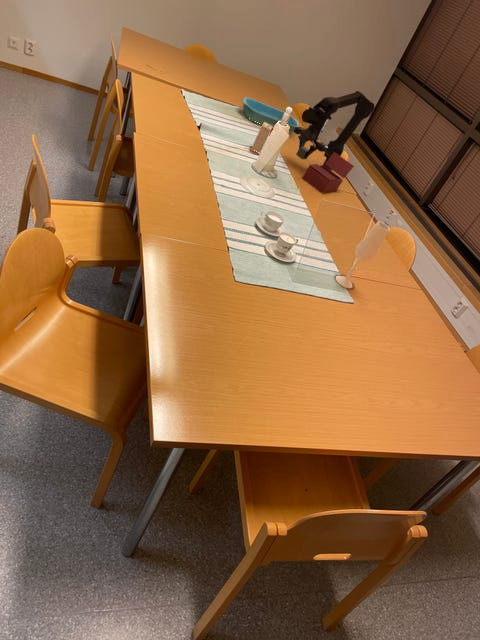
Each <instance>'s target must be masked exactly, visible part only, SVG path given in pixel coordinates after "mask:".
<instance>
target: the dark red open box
mask: <svg viewBox="0 0 480 640" xmlns="http://www.w3.org/2000/svg"><path fill="white" fill-rule="evenodd" d="M302 179H303V180H304V181H305V182H307V183H308V184H310V185H311V186H312V187H314V189H316V190H317V191H319V192H320V193H321V194H326V193H334V192H337V191H338V189H339V188H340V186H341V184H342V183H343V181H344V178H343V177H341V176H340V175H339V174H337V173H336V172H335V171H333V170H332V171H331V170H329V169H328V168H327V167H325V166H324V165H323V164H322V165H321V164H320V165H319V164H317V163H312V164H309V165H308V166H307V168H306V170H305V172H304V174H303V176H302Z"/></svg>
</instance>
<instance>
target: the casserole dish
mask: <svg viewBox="0 0 480 640" xmlns="http://www.w3.org/2000/svg"><path fill="white" fill-rule="evenodd" d="M241 102H242V104H243V105H242V110H243V113H244V114H245V116H246V118H247V119H248V120H249V121H250V122H252V123H254V124H256V125H259V126H262V124H263V123H264V122H266V123H268V124H270V125H272V126H273V127H274V125H275V124H276V123H277V122H278V121H279V120H281V119H282V116H283V114H284V112H285V111H284V110H281V109H279V108H276V107H273V106H271V105H268V104H266V103H263V102H261V101H258V100H256V99H254V98H251V97H244V98H243V99H241ZM249 118H250V119H249ZM273 118H274V119H273ZM276 119H277V120H276ZM255 121H256V122H255ZM257 122H258V123H257ZM259 123H260V124H259ZM288 125H289V126H290V129H289V134H288V135H291V134H292V133H294V132H293V131H294V129H295V128H296V127H299V126H300V122H299V121H298V120H297V119H296V118H294V117H293V116H292V115H291V116H290V119H289V121H288ZM271 130H273V128H272V129H271Z"/></svg>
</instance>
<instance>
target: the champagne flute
mask: <svg viewBox="0 0 480 640" xmlns="http://www.w3.org/2000/svg"><path fill="white" fill-rule="evenodd" d="M390 230H391V229H390V227H389V226H388V225H387V224H386V223H384V222H383V221H376V223H375V224H374V225H373V226H372V227H371V229H370V230H369V231H368V232H367V233H366V235H365V236H364V237H363V238H362V240H361V241H360V242H358V244H357V246H356V247H355V251H354V252H355V258H356V261H355V263H354V264H353V266H352V267H351V269H350V270H349V271H348V273H347V274H346V276H344V275H337V276H335V280H336V281H337V283H338V284H339V285H340V286H341V287H343V288H346V289H353V283H352V282H351V280H350V277H351V276H352V275H353V274H354V272H355V271H356V269H357V267H358V266H359V265H360V264H361V263H365V262H369V261H372V260H374V258H375V256H376V254H377V253H378V251H379V249H380V247H381V246H382V244H383V242H384V240H385V238H386V237H387V236H388V234H389V232H390Z"/></svg>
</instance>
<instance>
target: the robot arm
mask: <svg viewBox="0 0 480 640" xmlns="http://www.w3.org/2000/svg"><path fill="white" fill-rule="evenodd" d="M352 105H355V107H354V113H353V115H352V116H351V118H350V119H349V121H348V122H347V123H346V125H345V126H344V128H343V129H342V131H341V132H340V134H339V135H338V137H336V139H334V140H331V139H330V140H329V142H328V144H326V143H324V142H323V141H319V139H320V135H321V133H323V131H324V127H325V125H326V124H327V122H328V120H330V121H332V116H331V115H333V114H335V113H337V112H338V111H339V110H340V109H342V108H346V107H349V106H352ZM375 107H376V106H375V103H374V102H372V101H371V100H370V99H368V98H367V97H366V95H365V94H364V93H363V92H361V91H360V90H356V91H355V92H352V93H348V94H345V95H341V96H338V97H334V96H325V97H323V98H322V99H321V100H320V101H319V102H317V103H316V104H315V105H314V106H313V107H311V106H309V107H308V109H307V108H306V109H305V110H304V111H303V112H302V114H301V121H302V122H303V123H305V124H308V127H307V128H303V127H302V126H298V127H296V128H295V129H294V131H293V132H292V133H294V134H295V135H297V138H298V140H299V143H298V144H299V145H298V149H299V148H300V147H305V146H306V144H307V143H308V142H310V143H312V144H311V145H309V148H308V150H309V151H308V152H307V154H306V156H305V158H307V157H308V158H309V156H310V155H312V154H313V153H314V152H316V151H318V152H320V153H322V152H323V157H325V160H324V162H323V163H322V165H324V166H325V167H327V168H328V169H329V170H331V171H332V172H333V170H332V169H330V168H329V167H328V166H326V165H325V163H326V162H327V160H328V159H329V158H330V156H331V155H332V154H333V153H334V152H335V153H337V154H338V155H339V156H341V157H342V155H343V153H344V149H345V145H346V143H347V142H348V141H349V140H350V138H351V136H352V135H353V134H354V132H355V131H356V130H357V128H358V127H359V125H360V124H361V122H362V121H363V120H365V119H367V118H369V117H370V115H371V114H373V112H374V111H375ZM308 158H307V159H308Z"/></svg>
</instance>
